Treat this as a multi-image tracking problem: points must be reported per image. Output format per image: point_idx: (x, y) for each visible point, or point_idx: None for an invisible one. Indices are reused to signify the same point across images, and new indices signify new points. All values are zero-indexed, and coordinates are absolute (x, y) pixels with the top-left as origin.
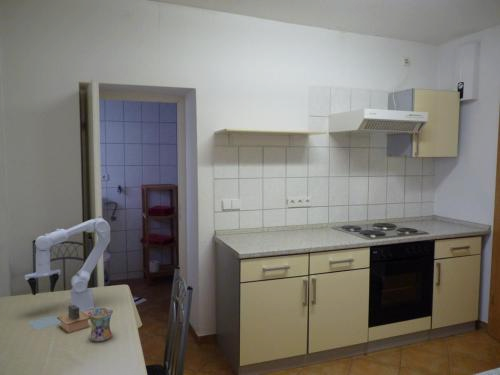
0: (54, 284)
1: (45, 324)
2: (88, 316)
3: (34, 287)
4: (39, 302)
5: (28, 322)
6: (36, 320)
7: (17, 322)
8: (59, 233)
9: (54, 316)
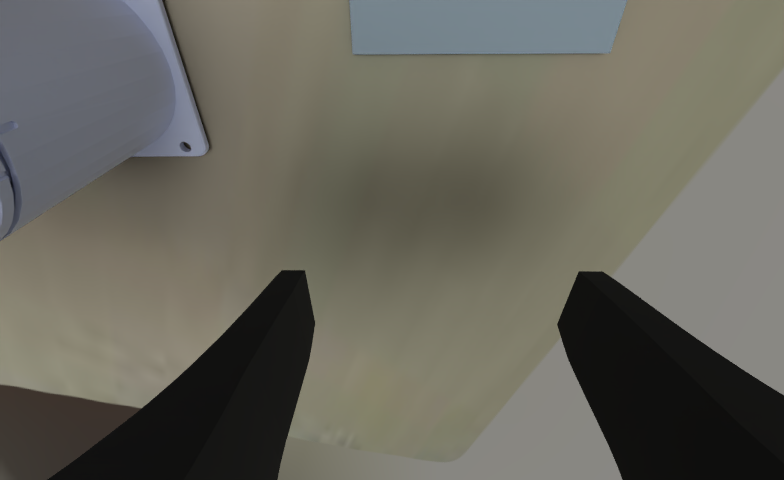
0: (213, 368)
1: None
2: None
3: (730, 391)
4: (357, 363)
5: (607, 38)
6: (532, 36)
7: (627, 141)
8: None
9: (360, 12)
